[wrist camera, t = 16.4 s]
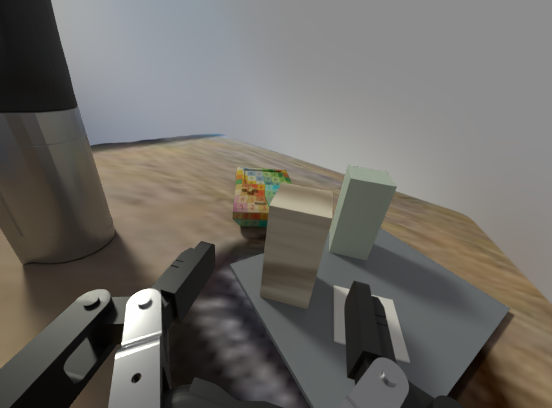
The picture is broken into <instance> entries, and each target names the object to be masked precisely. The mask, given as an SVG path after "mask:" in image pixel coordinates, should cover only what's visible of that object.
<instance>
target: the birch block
mask: <svg viewBox="0 0 552 408" xmlns="http://www.w3.org/2000/svg"><path fill="white" fill-rule="evenodd" d="M332 199H333V192H330V191H325V190H320V189H314V188H309V187H304V186H299V185H294V184H288V183H283V182H282V183H281V185H280V187H279V189H278V190H277V192H276V194H275V196H274V198H273V199H272V201H271V203H270V205H269V213H268V222H267V232H266V241H265V250H264V260H263V269H262V279H261V288H260V297H264V298H267V299H271V300H275V301H278V302H282V303H286V304H289V305H293V306H296V307H300V308H304V309H308V305H309V301H310V298H311V294H312V290H313V287H314V283H315V279H316V276H317V272H318V269H319V265H320V261H321V258H322V254H323V250H324V247H325V243H326V239H327V236H328V232H329V228H330V225H331V221H332Z"/></svg>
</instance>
